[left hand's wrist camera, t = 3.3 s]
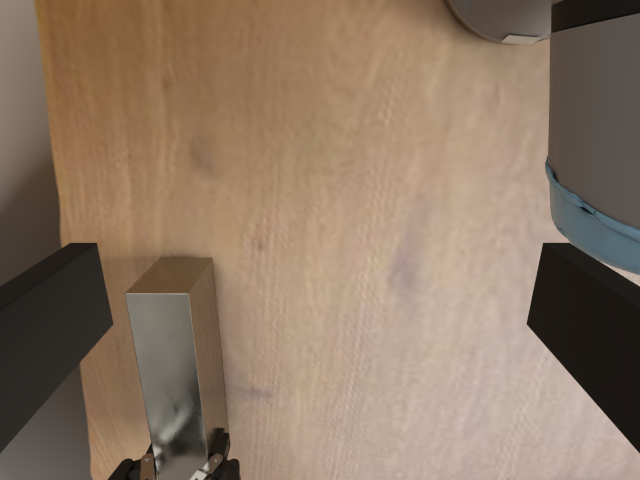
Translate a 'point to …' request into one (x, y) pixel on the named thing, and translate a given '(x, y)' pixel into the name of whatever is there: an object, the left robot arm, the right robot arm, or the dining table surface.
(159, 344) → the bar
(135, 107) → the dining table surface
